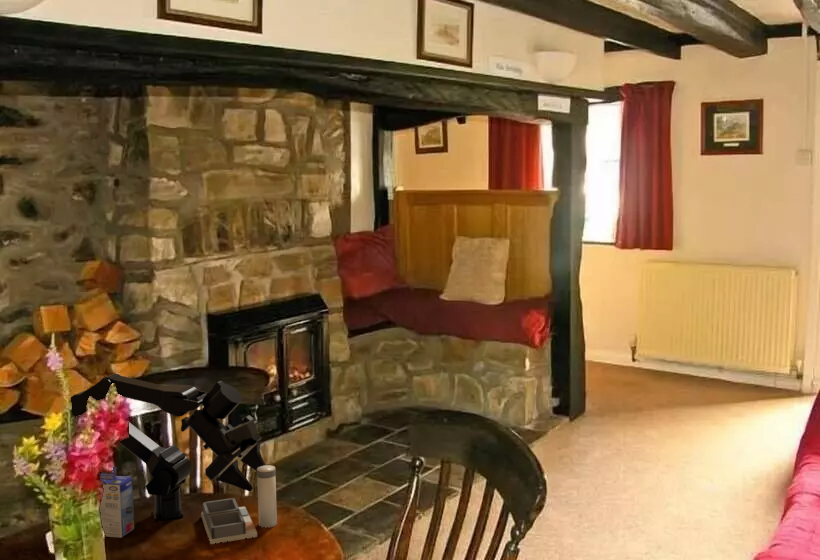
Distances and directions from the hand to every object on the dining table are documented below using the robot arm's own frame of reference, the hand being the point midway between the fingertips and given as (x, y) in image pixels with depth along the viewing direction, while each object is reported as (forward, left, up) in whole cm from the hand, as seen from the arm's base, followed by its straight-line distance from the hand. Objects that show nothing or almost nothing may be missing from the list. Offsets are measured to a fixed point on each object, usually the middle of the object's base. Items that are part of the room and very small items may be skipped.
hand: (260, 482), depth 192 cm
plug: (+1, +1, -10) cm, 10 cm away
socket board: (-1, -7, -10) cm, 12 cm away
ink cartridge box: (-8, -32, -10) cm, 35 cm away
